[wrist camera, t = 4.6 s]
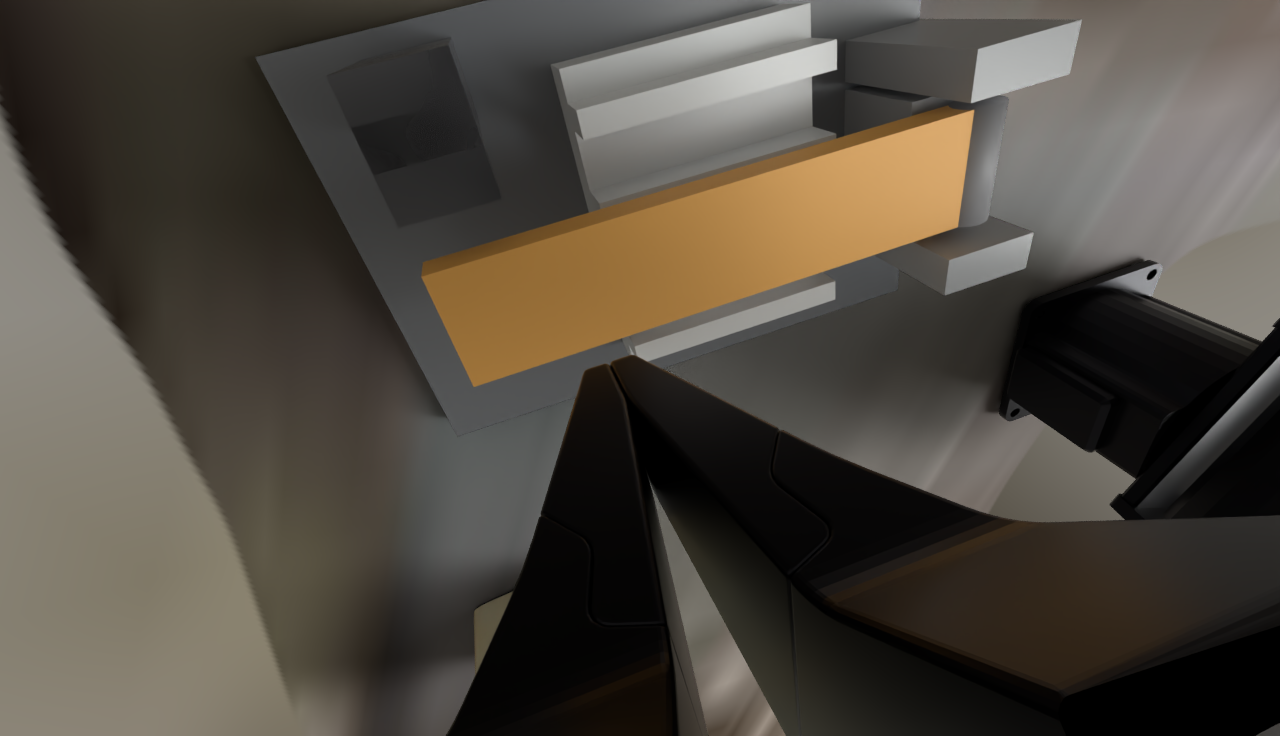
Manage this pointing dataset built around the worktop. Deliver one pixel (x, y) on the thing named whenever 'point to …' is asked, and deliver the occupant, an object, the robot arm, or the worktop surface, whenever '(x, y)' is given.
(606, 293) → the strap
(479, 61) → the clamp base
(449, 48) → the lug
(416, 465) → the worktop surface
